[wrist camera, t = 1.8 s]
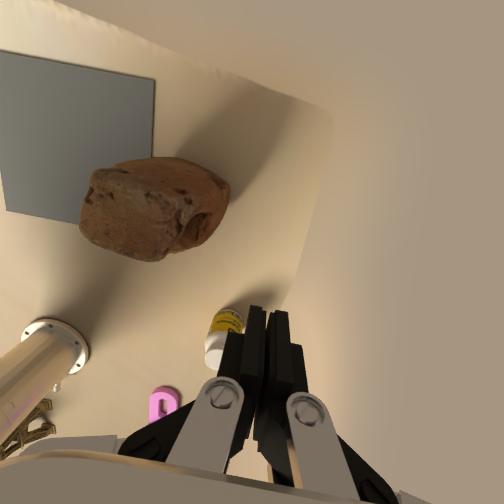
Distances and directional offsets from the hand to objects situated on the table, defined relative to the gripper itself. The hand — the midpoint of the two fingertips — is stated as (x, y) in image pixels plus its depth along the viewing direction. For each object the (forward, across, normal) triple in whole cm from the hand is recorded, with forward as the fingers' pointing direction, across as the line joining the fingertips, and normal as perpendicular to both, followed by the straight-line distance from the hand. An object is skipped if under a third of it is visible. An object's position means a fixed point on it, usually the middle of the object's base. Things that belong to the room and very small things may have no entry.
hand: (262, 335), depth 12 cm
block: (+31, +11, 0) cm, 33 cm away
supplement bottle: (+31, +3, +22) cm, 38 cm away
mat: (+31, +30, -2) cm, 43 cm away
